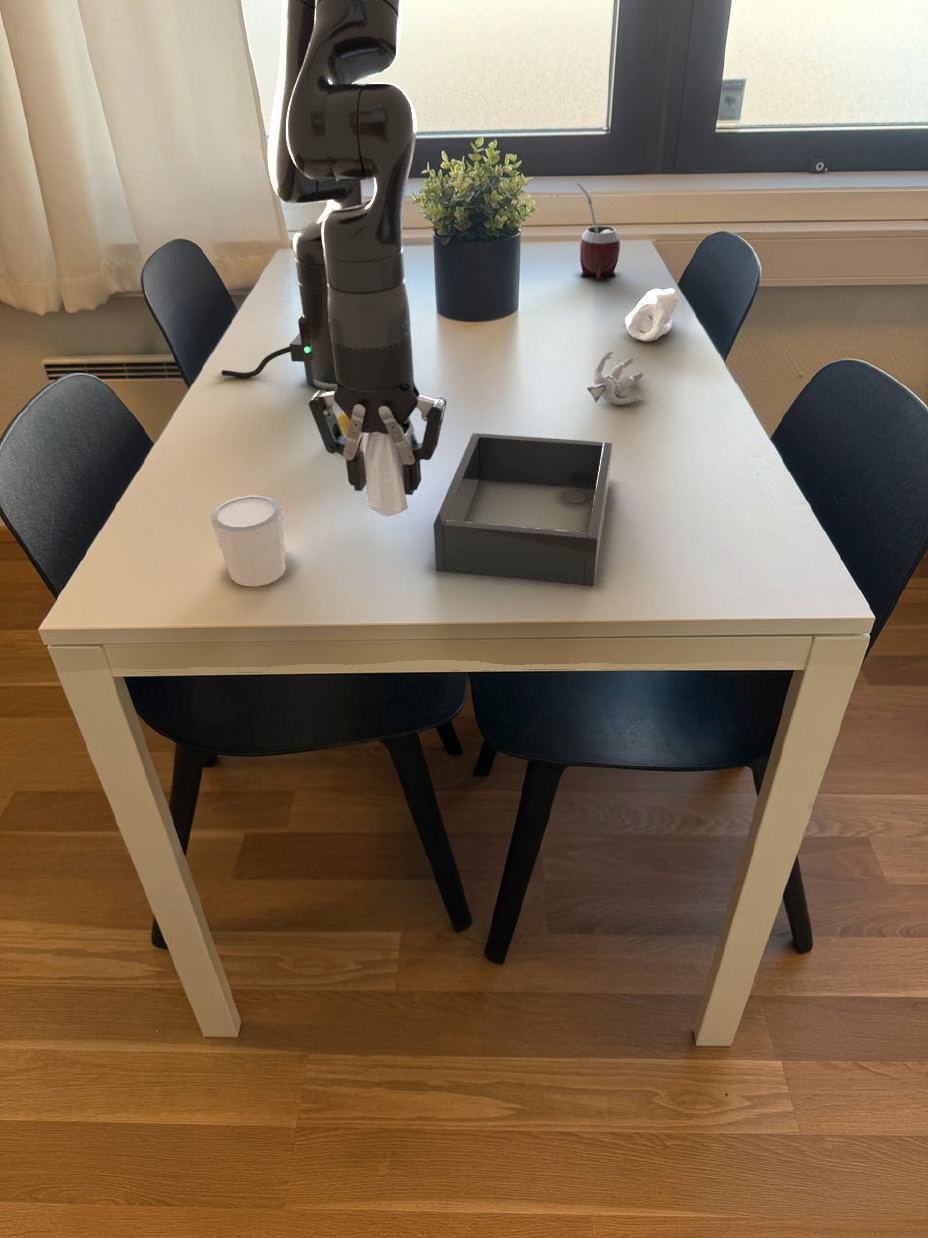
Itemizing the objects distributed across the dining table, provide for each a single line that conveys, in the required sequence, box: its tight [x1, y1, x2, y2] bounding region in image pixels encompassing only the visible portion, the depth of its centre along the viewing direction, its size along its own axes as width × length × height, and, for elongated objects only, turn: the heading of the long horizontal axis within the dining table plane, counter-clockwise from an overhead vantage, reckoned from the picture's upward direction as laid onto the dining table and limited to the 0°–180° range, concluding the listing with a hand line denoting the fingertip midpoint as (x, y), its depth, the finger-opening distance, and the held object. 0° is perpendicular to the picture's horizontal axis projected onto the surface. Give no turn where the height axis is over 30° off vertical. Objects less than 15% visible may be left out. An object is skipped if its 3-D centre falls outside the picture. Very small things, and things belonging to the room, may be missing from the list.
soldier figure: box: [586, 350, 644, 406], centre depth 121 cm, size 8×5×12 cm
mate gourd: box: [576, 182, 621, 282], centre depth 158 cm, size 8×8×15 cm
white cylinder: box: [210, 494, 287, 588], centre depth 89 cm, size 7×7×7 cm
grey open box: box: [433, 432, 613, 586], centre depth 95 cm, size 16×20×6 cm
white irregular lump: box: [624, 287, 679, 343], centre depth 139 cm, size 9×12×8 cm
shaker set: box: [363, 432, 409, 517], centre depth 94 cm, size 12×4×11 cm, turn 8°
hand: (385, 488), depth 94 cm, fingers closed on shaker set, 5 cm apart
